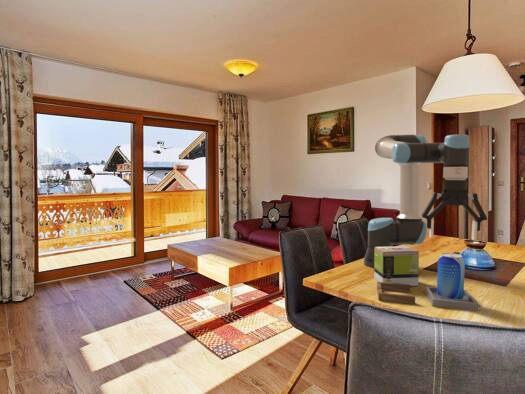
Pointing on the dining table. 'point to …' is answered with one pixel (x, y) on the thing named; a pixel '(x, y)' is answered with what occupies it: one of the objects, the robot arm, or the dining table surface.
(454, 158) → the robot arm
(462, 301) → the tray
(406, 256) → the tea box
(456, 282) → the beer can
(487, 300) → the dining table surface
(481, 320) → the dining table surface
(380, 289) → the frame
